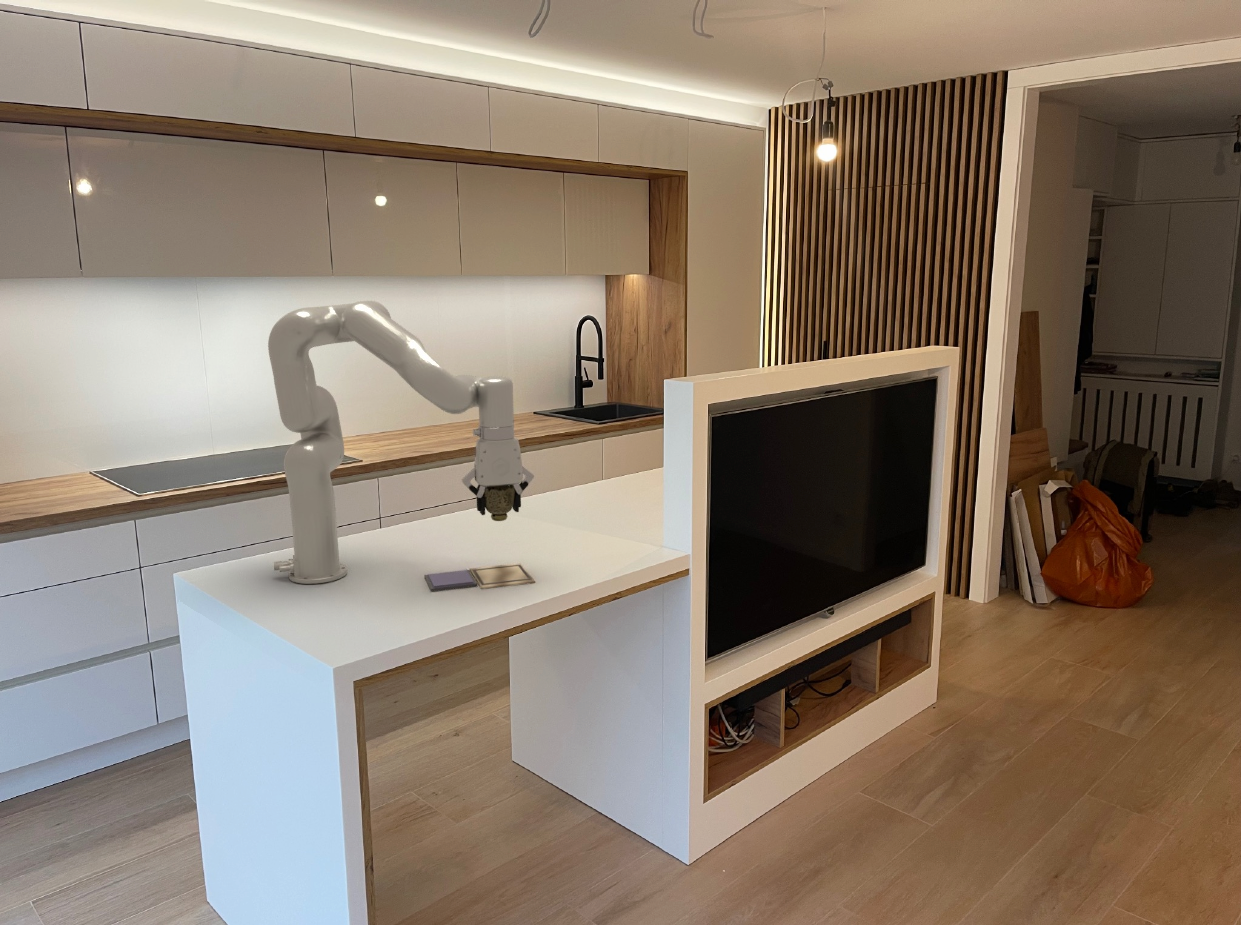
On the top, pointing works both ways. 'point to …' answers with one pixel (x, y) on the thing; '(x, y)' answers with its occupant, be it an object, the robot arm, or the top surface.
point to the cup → (499, 501)
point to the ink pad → (450, 580)
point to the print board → (501, 575)
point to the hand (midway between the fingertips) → (499, 511)
